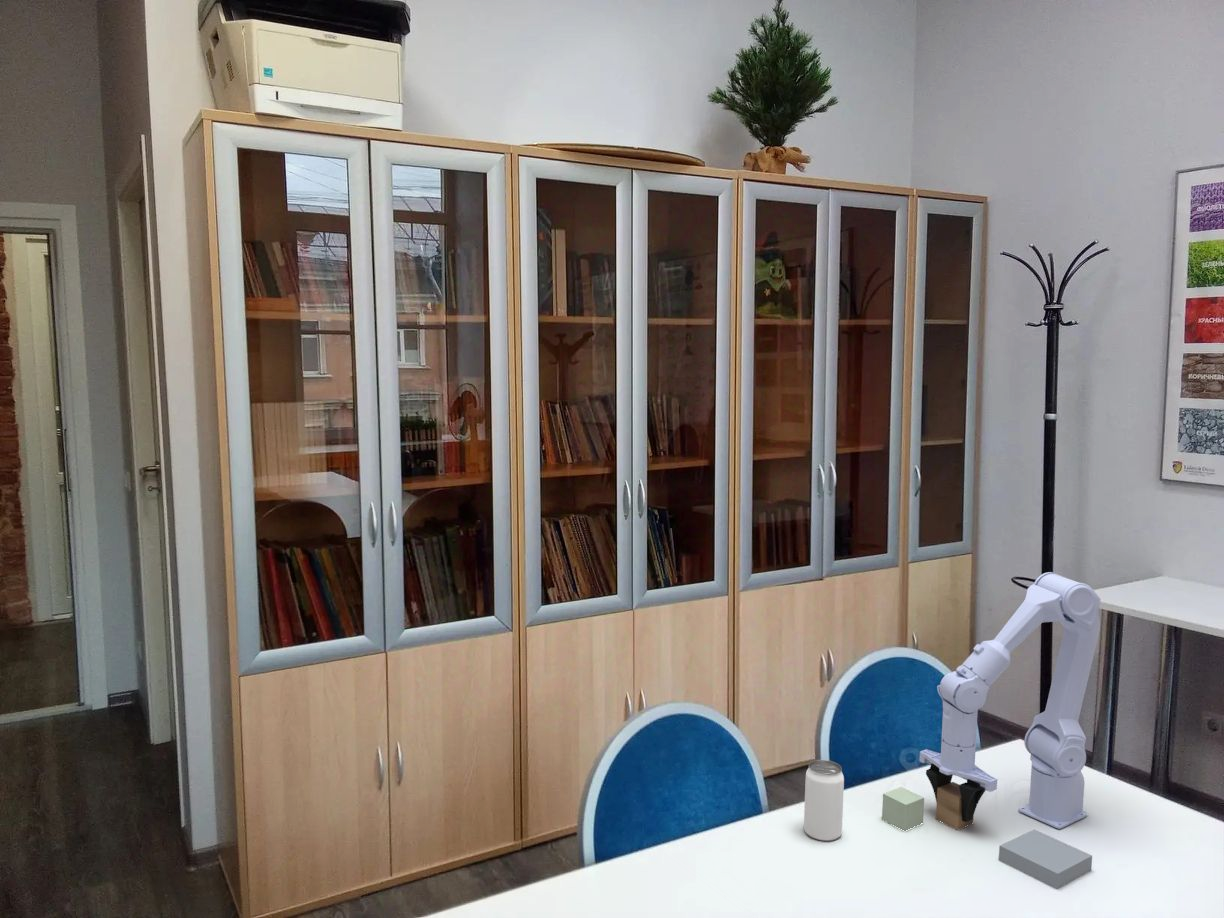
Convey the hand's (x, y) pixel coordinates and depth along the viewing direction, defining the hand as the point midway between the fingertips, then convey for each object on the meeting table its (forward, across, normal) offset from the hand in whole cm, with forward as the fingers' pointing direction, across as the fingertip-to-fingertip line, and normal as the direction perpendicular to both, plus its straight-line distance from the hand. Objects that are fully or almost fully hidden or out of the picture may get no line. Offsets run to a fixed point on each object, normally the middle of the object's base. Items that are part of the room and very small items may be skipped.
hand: (954, 814), depth 163 cm
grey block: (+2, +17, 0) cm, 17 cm away
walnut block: (+1, 0, 0) cm, 1 cm away
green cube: (+2, -5, -8) cm, 10 cm away
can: (+2, -10, -23) cm, 25 cm away
